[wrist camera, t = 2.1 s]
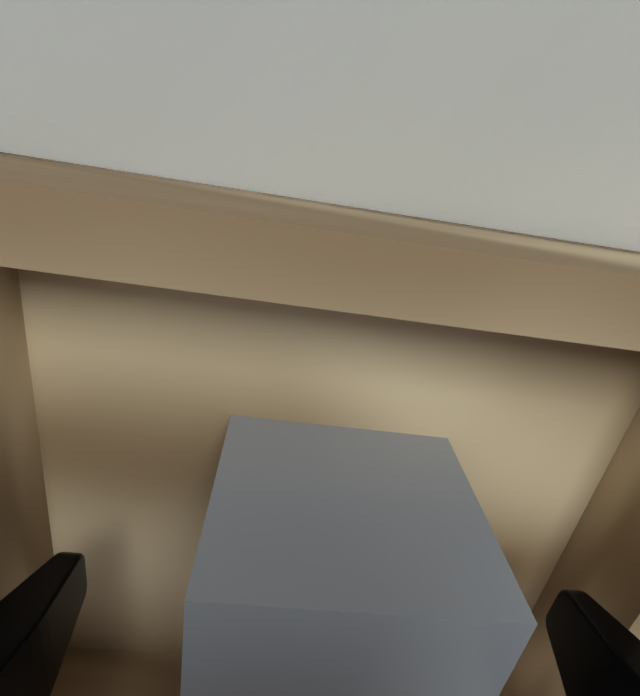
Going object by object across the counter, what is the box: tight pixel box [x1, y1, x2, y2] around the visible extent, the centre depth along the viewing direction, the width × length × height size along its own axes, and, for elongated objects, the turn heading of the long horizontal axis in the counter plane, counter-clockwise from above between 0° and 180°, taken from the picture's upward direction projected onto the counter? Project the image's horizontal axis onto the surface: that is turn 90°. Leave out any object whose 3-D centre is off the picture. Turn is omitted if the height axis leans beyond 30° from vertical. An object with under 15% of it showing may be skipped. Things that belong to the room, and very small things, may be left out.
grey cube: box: [180, 415, 538, 696], centre depth 8 cm, size 4×4×4 cm
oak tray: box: [0, 152, 640, 696], centre depth 9 cm, size 13×14×2 cm
